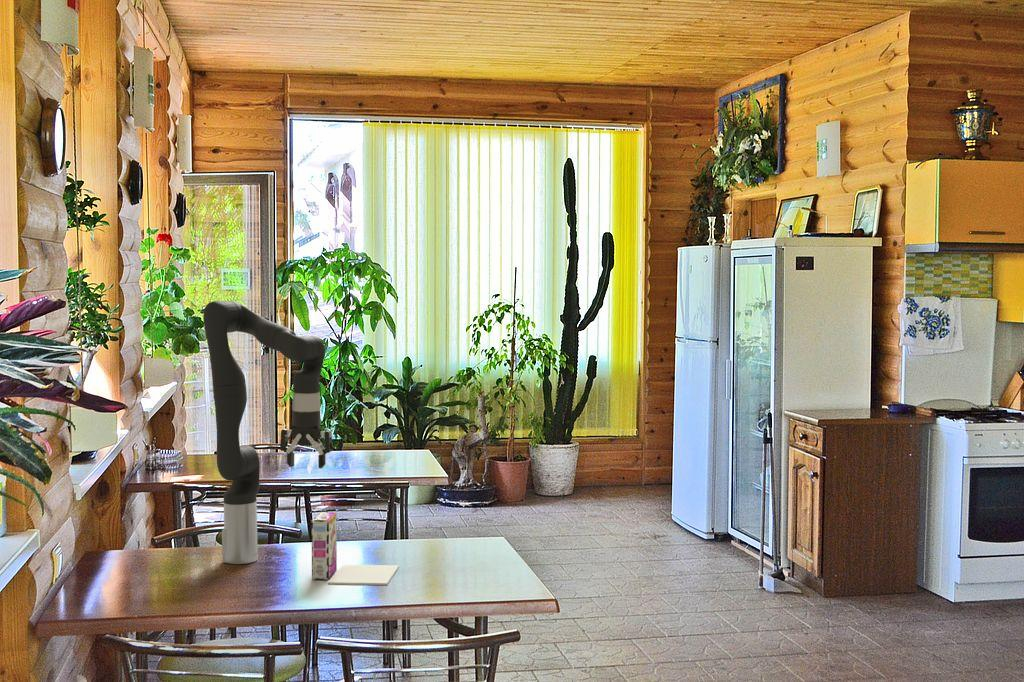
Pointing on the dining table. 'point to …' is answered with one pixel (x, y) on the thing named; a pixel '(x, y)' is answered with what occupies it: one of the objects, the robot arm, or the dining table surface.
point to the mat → (364, 574)
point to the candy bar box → (324, 546)
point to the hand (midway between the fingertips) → (306, 467)
